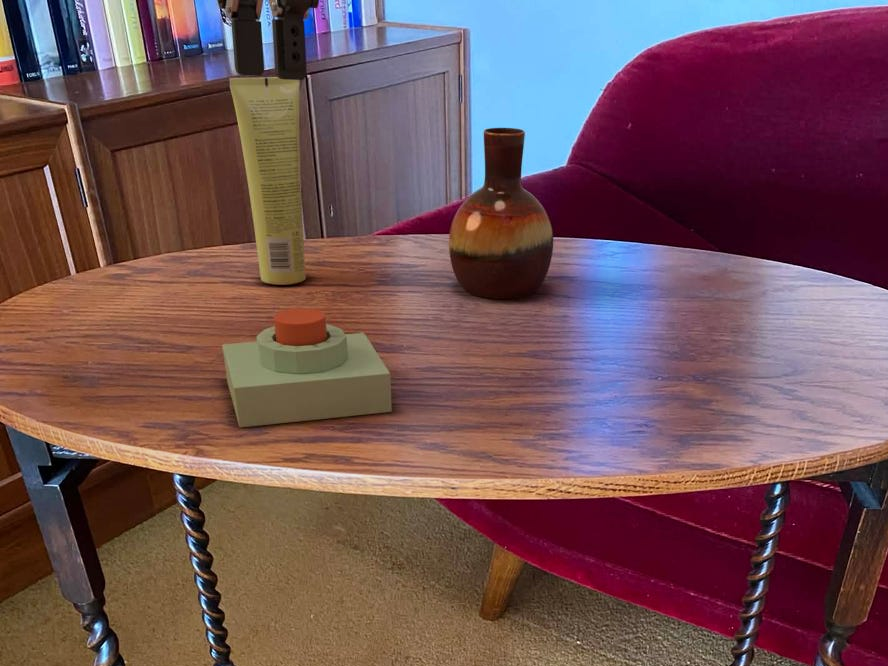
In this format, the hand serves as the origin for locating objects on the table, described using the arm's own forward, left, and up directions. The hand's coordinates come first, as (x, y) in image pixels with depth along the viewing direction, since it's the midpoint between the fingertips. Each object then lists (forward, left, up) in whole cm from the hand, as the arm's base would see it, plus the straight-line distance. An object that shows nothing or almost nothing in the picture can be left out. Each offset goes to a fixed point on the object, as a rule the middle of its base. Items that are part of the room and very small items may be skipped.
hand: (269, 77), depth 74 cm
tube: (+2, +24, -22) cm, 33 cm away
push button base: (-1, -10, -22) cm, 24 cm away
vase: (+24, +15, -22) cm, 36 cm away
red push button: (-1, -10, -17) cm, 20 cm away
